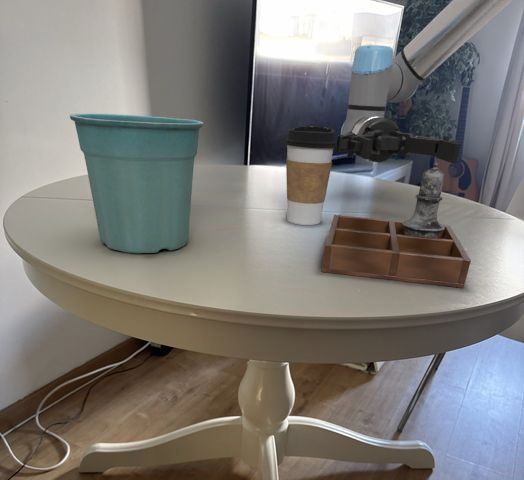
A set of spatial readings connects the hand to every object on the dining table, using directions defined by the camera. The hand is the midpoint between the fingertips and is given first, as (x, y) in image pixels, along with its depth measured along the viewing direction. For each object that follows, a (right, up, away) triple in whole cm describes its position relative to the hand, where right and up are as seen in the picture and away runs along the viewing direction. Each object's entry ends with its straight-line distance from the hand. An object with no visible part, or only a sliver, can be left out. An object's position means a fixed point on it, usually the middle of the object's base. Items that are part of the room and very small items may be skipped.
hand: (412, 151), depth 72 cm
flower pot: (-40, -15, -4) cm, 42 cm away
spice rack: (-5, -17, -5) cm, 19 cm away
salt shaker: (0, -16, -3) cm, 16 cm away
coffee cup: (-16, -7, +12) cm, 21 cm away
